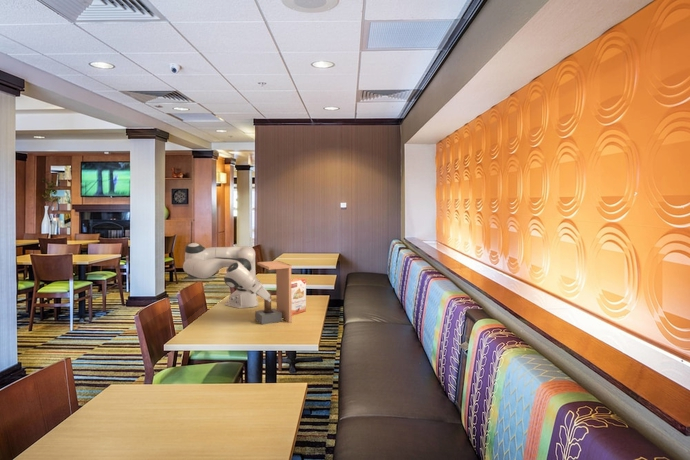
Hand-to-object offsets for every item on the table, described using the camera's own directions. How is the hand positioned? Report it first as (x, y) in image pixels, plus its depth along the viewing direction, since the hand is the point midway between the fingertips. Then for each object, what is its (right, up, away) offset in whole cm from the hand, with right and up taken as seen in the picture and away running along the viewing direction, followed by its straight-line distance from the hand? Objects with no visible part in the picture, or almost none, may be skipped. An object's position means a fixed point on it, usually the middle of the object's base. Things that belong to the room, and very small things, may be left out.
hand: (268, 299), depth 242 cm
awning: (+3, -12, +3) cm, 13 cm away
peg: (-1, -7, 0) cm, 7 cm away
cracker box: (+13, -11, +17) cm, 25 cm away
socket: (0, -12, +1) cm, 12 cm away
